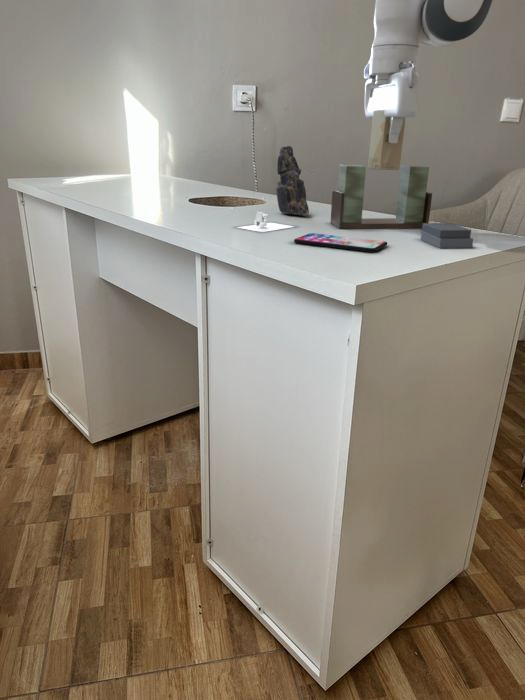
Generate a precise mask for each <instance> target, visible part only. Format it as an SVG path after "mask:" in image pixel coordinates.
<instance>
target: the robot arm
mask: <svg viewBox="0 0 525 700" xmlns="http://www.w3.org/2000/svg"><path fill="white" fill-rule="evenodd" d="M492 3H493V0H375V5H374V13H373V14H374V15H373V27H374V38H373V41H372V45H371V50H370V51H371V52H370V57H369V60H368V62H367V64H366V66H365V67H364V70H363V78H364V79H365V80H366V81H365V86H364V115H365V118H366V119H373V112H374V111H376V110H383V111H384V114H385V116H386V117H390V124H391V126H390V130H389V133H388V135H387V142H388V143H397V142H398V138H399V133H400V130H401V127H402V125H403V117H406V118H415V117H416V116H417V113H418V110H419V103H420V75H419V73H418V63H419V54H420V46H421V44H424V45H428V46H433V47H437V48H447V47H450V46H453V45H454V44H456V43H458V42H460V41H461V40H465V39H467V38H469V37H470V36H472V35H473V34H474V33H476V32H477V31H478V30H479V29H480V28H481V26H482V25H483V24H484V22H485V20H486V18H487V16H488V14H489V11H490V8H491V6H492Z"/></svg>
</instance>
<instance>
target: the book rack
mask: <svg viewBox="0 0 525 700" xmlns="http://www.w3.org/2000/svg"><path fill="white" fill-rule="evenodd" d="M366 172H367V166H366V165H361V164H339V170H338V181H337V182H338V183H337V184H338V185H337V189H332V191H331V209H330V224H331V225H332V226H334V227H336V228H338V229H339V230H347V229H354V230H355V229H358V230H359V229H361V230H362V229H366V230H367V229H370V230H371V229H374V230H375V229H422V225H423V223H430V214H431V209H432V208H431V206H432V201H433V200H432V198H433V193H432V192H429V191H427V188H428V181H429V174H430V173H429V172H430V167H429V166H426V165H425V166H424V165H413V164H412V165H411V164H410V165H409V164H408V165H406V164H405V165H404V164H403V165H401V164H400V170H399V174H400V175H399V180H398V190H397V199H396V200H397V201H396V209H395V210H396V211H395V217H394V218H392V217H389V218H387V217H383V218H380V217H378V218H377V217H375V218H374V217H373V218H372V217H371V218H368V217H367V218H366V217H365V218H363V210H364V209H363V208H364V197H365V196H364V195H365V185H366Z"/></svg>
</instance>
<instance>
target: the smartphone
mask: <svg viewBox="0 0 525 700" xmlns="http://www.w3.org/2000/svg"><path fill="white" fill-rule="evenodd" d="M293 242H294V243H295V244H303V245H312V246H320V247H328V248H336V249H337V248H338V249H342V250H343V249H346V250H352V251H360V252H367V253H374V252H377V251H379V250H381V249H382V248H384V247H386V246H387V245H388V242H387V241H386V240H385V241H384V240H377V239H369V238H362V237H361V238H360V237H350V236H344V235H343V236H342V235H334V234H325V233H316V232H315V233H314V232H309V233H307V234H304V235H302V236H299V237H296V238H294V239H293Z"/></svg>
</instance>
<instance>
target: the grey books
mask: <svg viewBox="0 0 525 700" xmlns="http://www.w3.org/2000/svg"><path fill="white" fill-rule="evenodd" d="M471 235H472V229H469V228H466V227H463V226H461V225H458V224H455V223H452V222H442V223H441V222H429V223H423V225H422V228H421V234H420V240H421V241H423V242H425V243H427V244H430V245H432V246H434V247H436V248H438V249H472V248H473V244H474V238H473V237H471Z"/></svg>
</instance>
